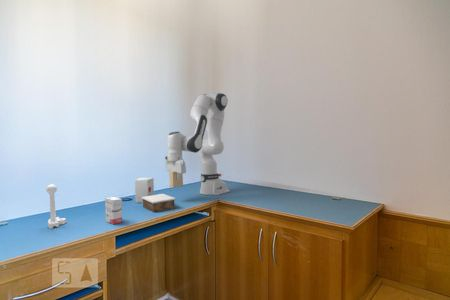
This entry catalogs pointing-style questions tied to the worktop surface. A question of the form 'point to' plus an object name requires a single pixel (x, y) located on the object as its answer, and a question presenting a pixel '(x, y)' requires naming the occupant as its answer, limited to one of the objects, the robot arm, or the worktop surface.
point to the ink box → (113, 210)
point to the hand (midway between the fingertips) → (176, 179)
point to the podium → (158, 202)
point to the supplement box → (143, 188)
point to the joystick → (53, 209)
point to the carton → (175, 179)
